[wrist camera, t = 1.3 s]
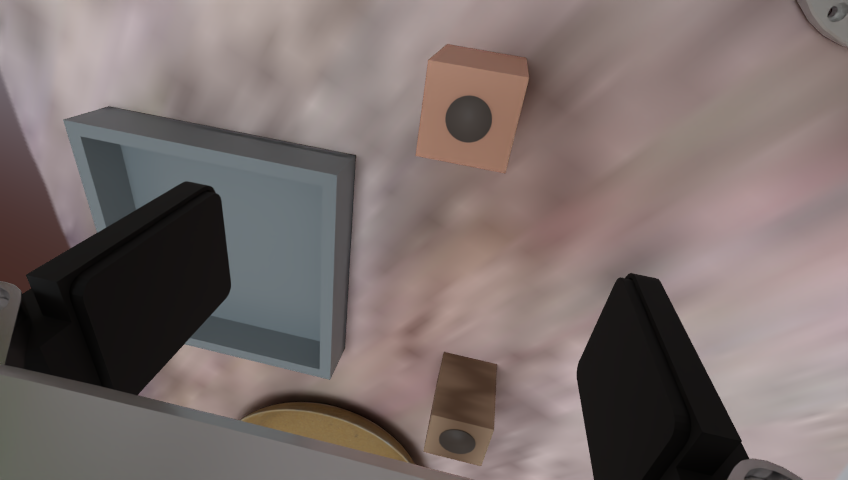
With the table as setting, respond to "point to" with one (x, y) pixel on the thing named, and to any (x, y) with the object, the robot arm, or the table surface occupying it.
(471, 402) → the walnut block
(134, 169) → the tray
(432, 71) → the terracotta block
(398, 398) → the table surface
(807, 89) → the table surface
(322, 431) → the plant saucer
